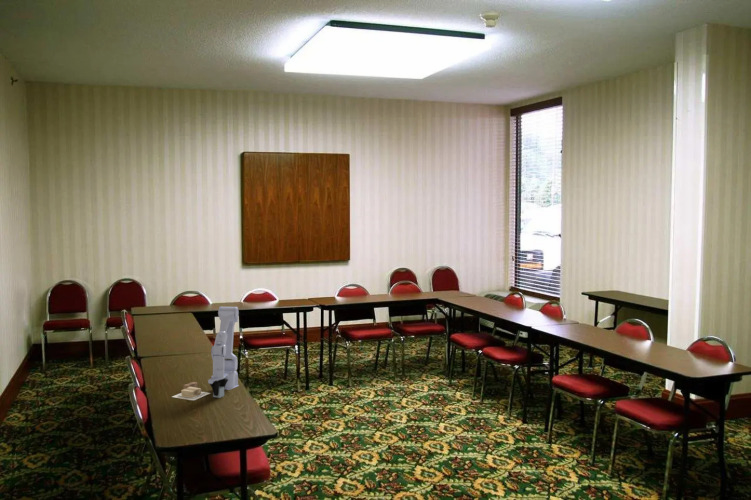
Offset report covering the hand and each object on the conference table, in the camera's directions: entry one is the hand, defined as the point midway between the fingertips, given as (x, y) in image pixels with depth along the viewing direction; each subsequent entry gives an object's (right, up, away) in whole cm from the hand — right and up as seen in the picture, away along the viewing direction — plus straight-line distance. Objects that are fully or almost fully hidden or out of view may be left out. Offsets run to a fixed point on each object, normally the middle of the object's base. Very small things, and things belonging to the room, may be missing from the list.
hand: (218, 394), depth 328 cm
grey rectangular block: (0, -1, 0) cm, 1 cm away
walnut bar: (-18, 0, +12) cm, 21 cm away
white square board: (-14, -1, +2) cm, 15 cm away
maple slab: (-14, -1, +2) cm, 15 cm away
